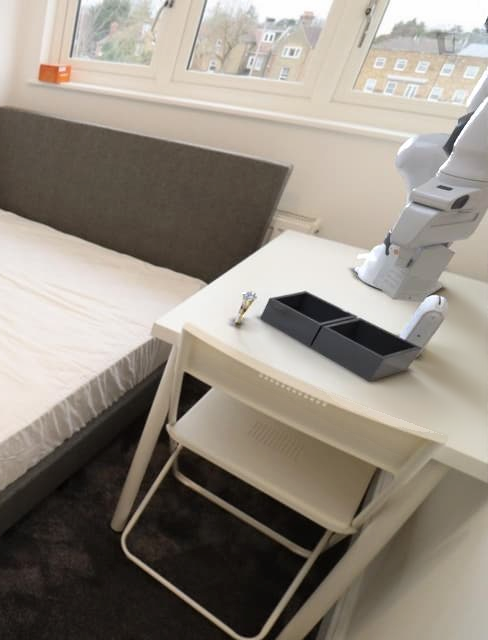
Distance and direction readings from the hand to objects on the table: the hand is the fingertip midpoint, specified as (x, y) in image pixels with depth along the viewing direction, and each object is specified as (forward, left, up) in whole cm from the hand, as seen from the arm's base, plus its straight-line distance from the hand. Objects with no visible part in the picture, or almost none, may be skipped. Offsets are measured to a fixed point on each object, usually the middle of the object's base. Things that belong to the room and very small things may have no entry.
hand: (414, 264), depth 98 cm
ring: (+14, -20, -22) cm, 33 cm away
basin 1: (0, -13, -22) cm, 26 cm away
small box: (0, 0, -6) cm, 7 cm away
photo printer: (-16, +1, -22) cm, 28 cm away
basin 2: (0, 0, -22) cm, 22 cm away
